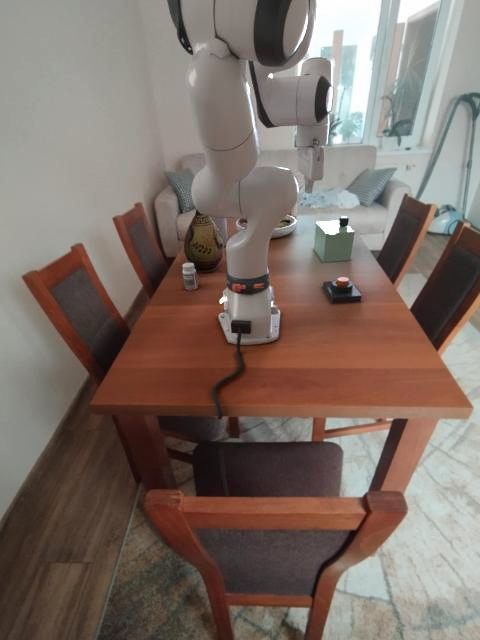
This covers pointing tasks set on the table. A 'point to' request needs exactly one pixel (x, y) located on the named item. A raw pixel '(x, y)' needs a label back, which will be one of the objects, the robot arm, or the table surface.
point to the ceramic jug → (203, 244)
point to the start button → (342, 281)
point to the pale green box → (333, 241)
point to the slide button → (343, 221)
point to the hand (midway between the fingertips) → (308, 192)
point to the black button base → (341, 292)
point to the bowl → (281, 229)
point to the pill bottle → (190, 276)
